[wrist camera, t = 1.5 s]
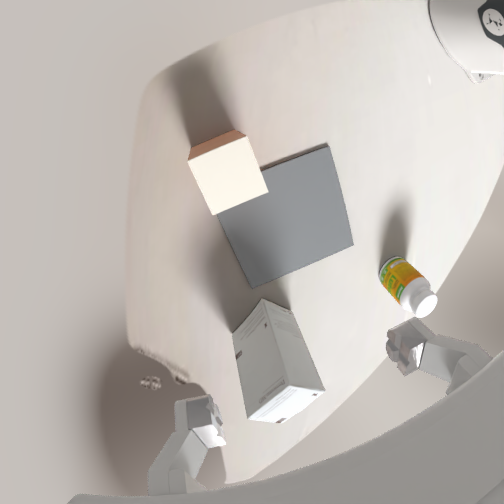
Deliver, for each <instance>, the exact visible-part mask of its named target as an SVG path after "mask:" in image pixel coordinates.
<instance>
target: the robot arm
mask: <svg viewBox="0 0 504 504" xmlns="http://www.w3.org/2000/svg"><path fill="white" fill-rule="evenodd" d="M430 15H431V20H432V23H433V26H434V29H435V32H436V34H437V36H438V38H439V40H440V42H441V44H442V45H443V47H444V49H445V50H446V51H447V53H448V54H449V55H450V57H451V58H452V59H453V60H454V61H455V62H456V63H457V64H458V65H460V66H461V67H462V68H463V69H464V70H465V71H466V73H467V75H468V76H469V78H470V79H471V81H472V82H473V83H480V82H482V81H484V80H486V79H488V78H490V77H491V76H493V75H495V74H504V0H430ZM387 337H388V338H389V340H388V341H387V343H386V350H387V354H388V356H389V358H390V359H391V360H392V361H394V362H397V368H398V369H399V370H400V371H401V372H402V374H403V375H404V376H406V375H408V374H410V373H411V372H413V371H415V370H417V369H419V370H421V371H424V372H426V373H428V374H431V375H433V376H436V377H438V378H440V379H442V380H445V381H447V382H449V385H448V388H447V390H446V394H447V396H445V397H444V398H442V399H441V400H439V401H438V402H437V403H435V404H433V405H432V406H430V407H429V408H427V409H425V410H424V411H422V412H421V413H419V414H417V415H416V416H414V417H412V418H411V419H409V420H407V421H406V422H404V423H402V424H400V425H398V426H397V427H395V428H393V429H391V430H389V431H387V432H385V433H384V434H381V435H379V436H377V437H376V438H373V439H372V440H369V441H367V442H365V443H363V444H361V445H359V446H356V447H354V448H352V449H350V450H347V451H345V452H343V453H340V454H338V455H335V456H333V457H330V458H328V459H326V460H323V461H320V462H317V463H314V464H312V465H309V466H306V467H303V468H300V469H297V470H294V471H290V472H287V473H284V474H280V475H277V476H274V477H270V478H266V479H262V480H258V481H254V482H250V483H245V484H241V485H236V486H231V487H226V488H221V489H214V490H208V491H207V490H206V488H205V487H204V486H203V485H201V484H200V483H199V482H198V481H196V480H195V478H196V476H197V474H198V471H199V469H200V467H201V464H202V462H203V460H204V458H205V455H206V453H207V451H208V449H207V448H211V447H215V446H220V445H224V444H226V439H225V434H224V431H223V429H222V428H221V425H222V424H223V423H222V418H221V414H220V411H219V409H218V407H217V405H216V404H214V403H213V398H212V397H211V395H210V394H209V395H204V396H199V397H194V398H190V399H184V400H180V401H176V402H175V426H176V427H175V428H176V432H174V433H172V435H171V436H170V438H169V439H168V441H167V442H166V444H165V445H164V447H163V449H162V450H161V452H160V453H159V455H158V456H157V458H156V459H155V461H154V463H153V464H152V466H151V467H150V469H149V470H148V496H100V495H89V494H78V495H76V496H74V497H73V498H72V499H71V500H70V501H69V502H68V503H67V504H504V350H503V351H502V352H501V353H499V354H498V355H497V356H496V357H495V358H494V359H493V358H492V357H491V356H490V355H489V354H488V353H487V352H486V351H485V350H484V349H483V348H482V347H481V346H479V345H478V344H475V343H471V342H467V341H462V340H458V339H454V338H450V337H446V336H443V335H435V334H434V333H433V332H432V331H431V330H430V329H429V328H428V327H427V326H426V325H424V324H423V323H422V322H421V321H420V320H419V319H418V318H417V317H413V318H411V319H409V320H407V321H406V322H403V323H401V324H399V325H397V326H395V327H393V328H391V329H389V330H388V332H387Z"/></svg>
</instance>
